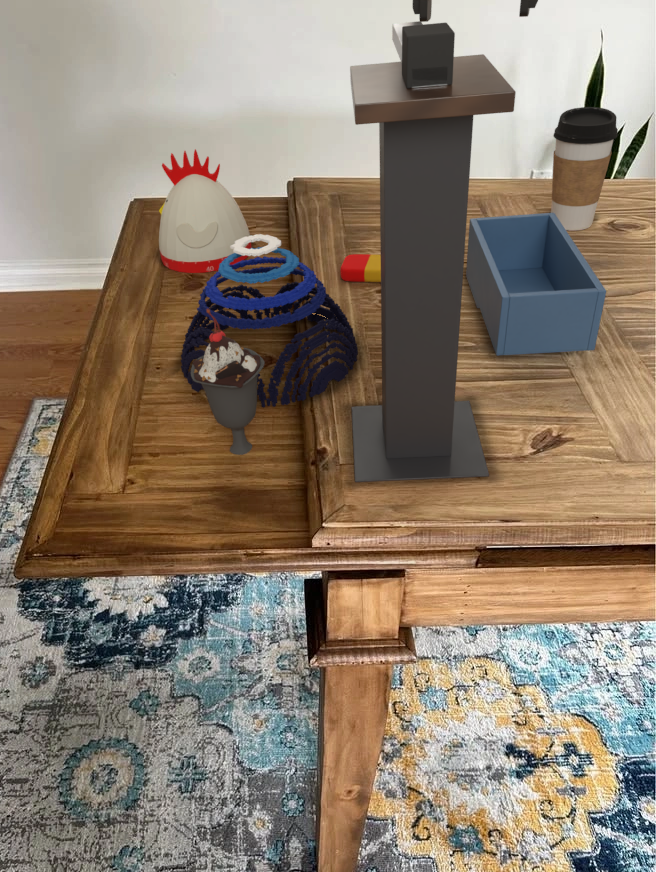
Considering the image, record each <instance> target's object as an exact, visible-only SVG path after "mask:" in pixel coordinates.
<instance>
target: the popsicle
mask: <svg viewBox="0 0 656 872" xmlns="http://www.w3.org/2000/svg"><path fill="white" fill-rule="evenodd" d="M339 272H340V278H341V280H343V281H344V282H351V283H352V282H353V283H355V282H356V283H357V282H359V283H381V254H372V253H371V254H369V253H368V254H367V253H362V254H360V253H354V254H353V253H351V254H348V255H347V256H345V257H344V259H343V261H342V264H341V266H340V271H339Z"/></svg>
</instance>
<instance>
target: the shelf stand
mask: <svg viewBox="0 0 656 872" xmlns="http://www.w3.org/2000/svg"><path fill="white" fill-rule="evenodd" d="M349 73H350V75H349V77H350V91H351V97H352V98H351V99H352V107H353V117H354V125H357V126H358V125H369V124H378V128H379V129H378V130H379V131H378V132H379V133H378V134H379V135H378V136H379V140H378V141H379V143H378V144H379V225H380V226H379V227H380V235H379V236H380V238H379V239H380V243H379V244H380V255H381V282H380V328H381V329H380V331H381V332H380V334H381V335H380V336H381V338H380V339H381V404H376V405H358V406H356V405H355V406H354V405H353V406H351V407H350V409H351V430H352V431H351V433H352V452H353V453H352V454H353V471H354V472H353V473H354V475H353V477H354V482H355V483H373V482H392V481H394V482H396V481H397V482H399V481H415V480H416V481H418V480H419V481H420V480H421V481H422V480H442V479H444V480H445V479H464V478H466V479H467V478H468V479H469V478H489V477H490V472H489V468H488V464H487V460H486V457H485V453H484V450H483V446H482V443H481V438H480V434H479V431H478V427H477V423H476V420H475V416H474V412H473V409H472V405H471V401H470V400H456V389H457V388H456V387H457V373H458V359H459V357H458V356H459V355H458V354H459V342H460V326H461V325H460V324H461V314H462V313H461V312H462V311H461V310H462V299H463V298H462V297H463V296H462V295H463V284H464V283H463V282H464V281H463V279H464V268H465V266H464V265H465V251H466V250H465V249H466V238H467V237H466V236H467V235H466V234H467V220H468V219H467V218H468V207H469V206H468V205H469V191H470V189H469V188H470V176H471V175H470V173H471V159H472V146H473V145H472V143H473V130H474V129H473V128H474V116H478V115H479V116H480V115H490V114H491V115H492V114H503V113H504V114H505V113H514V111H515V102H516V90H515V89H514V87H512V86H511V84H510V83H509V82H508V81H507V80H506V78H505V77H504V76H503V75H502V74H501V72H499V71H498V69H497V68H496V66H495V65H494V64H493V63H492V62H491V61H490V60H489V59H488V57H487V56H486V55H485V54H483V53H481V54H471V55H470V54H469V55H459V56H454V61H453V82H452V85H445V86H434V87H422V88H409V89H408V88H407V87H406V85H405V82H404V79H403V77H402V63H401V61H393V62H379V63H369V64H368V63H367V64H359V65H356V64H355V65H350V66H349Z"/></svg>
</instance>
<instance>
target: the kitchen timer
mask: <svg viewBox="0 0 656 872" xmlns="http://www.w3.org/2000/svg"><path fill="white" fill-rule="evenodd" d="M209 163H210V157H209V156H206V158H205V161H204V163H203V165H202V164H201V161H200V157H199V153H198V151H197V149H196V148H195V149H194V151H193V164H192V165H191V163H190V160H189V157H188V154H187V151H186V150H183V159H182V167H181V166H180V165H179V163H178V161H177V159H176V157H175V155H174V153H173V152H171V153H170V164H171V169H170V168H169V167H168V166H167V165H166V164H165V163H164V162H162V164H161V167H162V169H163V171H164V173H165V175H166V176H167V177H168V179H169V181H170V182H171V183H172V184H173V186H172V187H171V189H170V190H169V192H168V194H167V196H166V198H165V201H164V202H163V204H162V206H160V208H159V209H158V212H159V214H160V221H159V222H160V223H159V232H158V248H159V255H160V259H161V262H162V264H163V266H164V267H166V268H167V269H169V270H171V271H175V272H179V273H188V274H202V273H204V274H205V273H210V272H218V271H219V270H218V269H219V265H220V263H222V261H224V259H225V258H227V257H228V256H229V255H231V254H233V253H234V252H233V250H234V249H231V248H230V246H231V245H233V244H234V243H235V241H236V240H239V239H241V238H243V237H245V236H246V237H248V236H251V233H250V229H249V225H247V221H246V219H245V217H244V214H243V212H242V210H241V208H240V206H239V204H238V202H237V201H236V199H235V198H234V197H233V195H232V194H231V193H230V191H229V190H228V189H227V188H226V187H225V186H224V185H223V184H222V183H221V182H219V180H218V177H219V173H220V169H221V163H218V165H217V167H216V168H215V171H214V172H212V173H211V172H210V171H209V170H210V169H209V166H210V165H209ZM243 247H244V248H247V249H250V248H253V247H252V242H249V243H247V244H245V246H243ZM248 257H249V256H247V255H245V256H241V257H238V258H236V259H234V261H233V262H231V263H230V264H231V265H233V264H235V263H237V262H240V261H242V260H244V261H245V260H247V259H248ZM230 264H229V265H230Z"/></svg>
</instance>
